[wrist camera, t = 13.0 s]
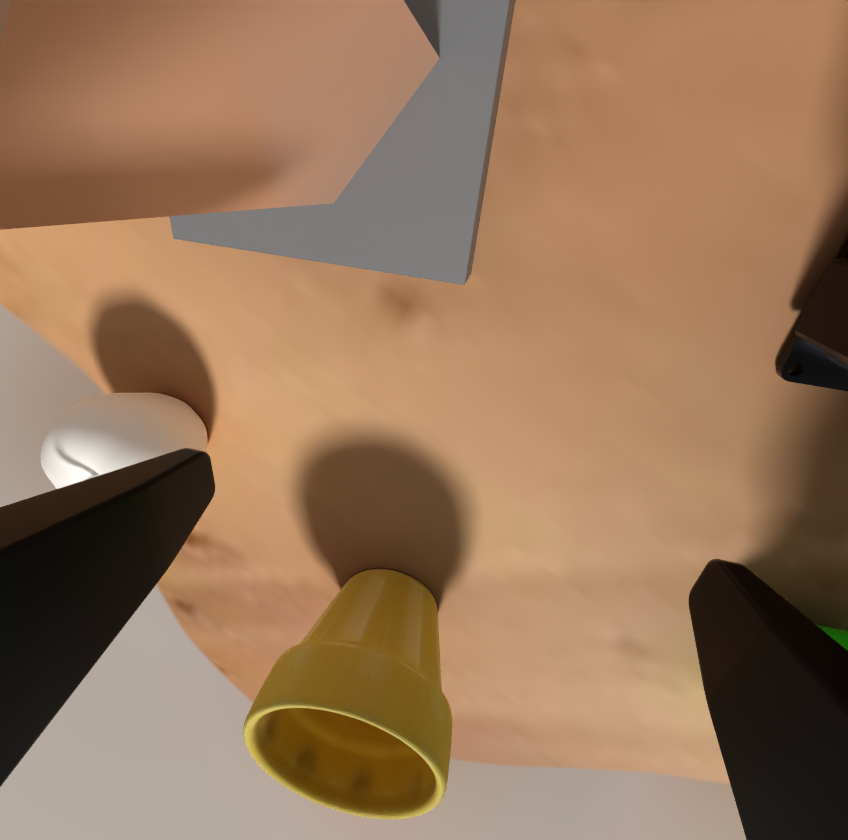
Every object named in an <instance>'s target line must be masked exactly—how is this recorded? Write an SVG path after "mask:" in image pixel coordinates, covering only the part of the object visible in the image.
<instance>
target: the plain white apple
mask: <svg viewBox="0 0 848 840" xmlns="http://www.w3.org/2000/svg"><path fill="white" fill-rule="evenodd" d="M183 448H191V449H195V450H200V451H204V452H206V451H207V431H206V428H205V425H204V423H203V421H202V420H201V419H200V417H199V416H198V415H197V414H196V413H195V411H194V410H193V409H192V408H191V407H190V406H189V405H187V404H186V403H185V402H183V401H181V400H179V399H176V398H174V397H171V396H168V395H164V394H159V393H111V394H105V395H100V396H95V397H91V398H89V399H86V400H83V401H81V402H79V403H77V404H75V405H73V406H71V407H69V408H68V409H66V410H65V411H64V412H63V413H62V414H61V415H60V416H59V417H58V418H57V419H56V420H55V421H54V422H53V423H52V425H51V426H50V428H49V430H48V432H47V435H46V437H45V440H44V443H43V446H42V449H41V465H42V468H43V469H44V471H45V473H46V475H47V477H48V478H49V479H50V481H51V482H52V483H53V484H54V486H55V487H56V489H59V488H62V487H65V486H68V485H71V484H75V483H78V482H81V481H84V480H87V479H90V478H93V477H96V476H99V475H102V474H105V473H109V472H112V471H115V470H118V469H121V468H124V467H127V466H130V465H133V464H136V463H139V462H143V461H146V460H149V459H152V458H155V457H158V456H161V455H164V454H167V453H170V452H174V451H177V450H180V449H183Z"/></svg>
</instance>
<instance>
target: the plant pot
mask: <svg viewBox="0 0 848 840" xmlns="http://www.w3.org/2000/svg"><path fill="white" fill-rule="evenodd" d="M451 736H452V714H451V709H450V706H449V703H448V701H447V699H446V697H445V695H444V694H443V692H442V687H441V669H440V649H439V630H438V610H437V605H436V602H435V599H434V597H433V595H432V594H431V592H430V591H429V590H428V589H427V588H426V587H425V586H424V585H423V584H421V583H420V582H419V581H417V580H416V579H414V578H412V577H410V576H408V575H406V574H403V573H400V572H397V571H392V570H386V569H373V570H367V571H363V572H360V573H358V574H356V575H354V576H353V577H351V578H350V579H349V580H348V581H347V582H346V584H345V585H344V586H343V587H342V589H341V590H340V592H339V593H338V594H337V596H336V597H335V598H334V600H333V601H332V602H331V604H330V605H329V606H328V608H327V609H326V610H325V612H324V613H323V614H322V616H321V617H320V618H319V620H318V621H317V622H316V624H315V625H314V626H313V628H312V629H311V630H310V632H309V633H308V634H307V636H306V637H305V638H304V640H303V641H302V642H301V644H298V645H296V646H294V647H292V648H290V649H289V650H287V651H286V652H285V653H283V654H282V655H281V656H280V657H279V659H278V660H277V662H276V663H275V665H274V666H273V668H272V670H271V672H270V673H269V675H268V677H267V679H266V680H265V682H264V684H263V686H262V688H261V690H260V692H259V693H258V695H257V697H256V699H255V701H254V703H253V705H252V707H251V710H250V711H249V713H248V715H247V718H246V720H245V723H244V728H243V737H244V741H245V745H246V747H247V749H248V751H249V753H250V755H251V756H252V758H253V759H254V760H255V762H256V763H257V764H258V765H259V766H260V767H261V768H262V769H263V770H264V771H265V772H266V773H267V774H268V775H270V776H271V777H272V778H273V779H275V780H276V781H277V782H279V783H280V784H282V785H283V786H285V787H286V788H288V789H289V790H291V791H293V792H295V793H297V794H298V795H301V796H302V797H304V798H306V799H308V800H311V801H313V802H315V803H318V804H320V805H323V806H326V807H329V808H331V809H334V810H338V811H341V812H345V813H349V814H353V815H357V816H363V817H369V818H377V819H404V818H410V817H415V816H419V815H422V814H424V813H426V812H429V811H430V810H432V809H433V808H435V807H436V806H437V805H438V804H439V803H440V802H441V800H442V798H443V796H444V794H445V791H446V786H447V779H448V770H449V761H450V750H451Z"/></svg>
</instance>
